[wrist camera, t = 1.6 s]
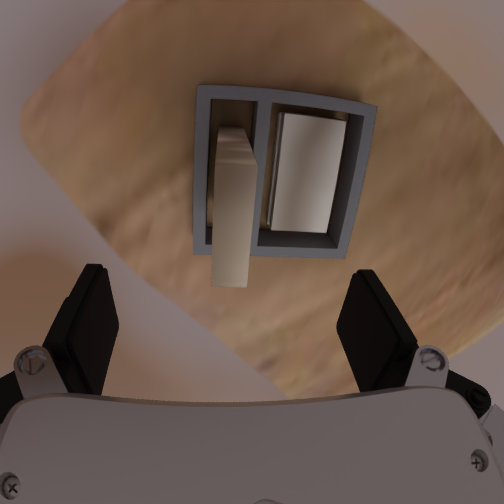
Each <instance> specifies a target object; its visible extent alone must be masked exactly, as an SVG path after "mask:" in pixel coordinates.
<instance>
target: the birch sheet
mask: <svg viewBox="0 0 504 504" xmlns="http://www.w3.org/2000/svg"><path fill="white" fill-rule="evenodd" d="M257 173H258V165H257V162H256V160H255V157H254V154H253V152H252V149H251V146H250V143H249V141H248V138H247V135H246V133H245V130H244V127H233V126H219V130H218V140H217V150H216V160H215V176H214V200H213V230H212V273H211V286H213V287H247V277H248V267H249V256H250V246H251V235H252V225H253V214H254V204H255V193H256V183H257Z"/></svg>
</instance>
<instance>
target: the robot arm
mask: <svg viewBox="0 0 504 504" xmlns="http://www.w3.org/2000/svg"><path fill="white" fill-rule="evenodd" d="M336 328H337V333H338V335H339V338H340V340H341V343H342V346H343V348H344V351H345V353H346V356H347V358H348V361H349V364H350V366H351V369H352V372H353V374H354V377H355V380H356V382H357V385H358V388H359V390H360V393H352V394H345V395H337V396H328V397H318V398H307V399H295V400H281V401H261V402H179V401H178V402H177V401H158V400H145V399H133V398H120V397H110V396H101V394H102V389H103V386H104V381H105V378H106V374H107V370H108V365H109V362H110V358H111V355H112V351H113V347H114V344H115V340H116V337H117V333H118V329H119V322H118V317H117V313H116V308H115V304H114V300H113V295H112V291H111V286H110V281H109V276H108V271H107V269H106V268H103V266H102V265H101V264H86V266H85V268H84V270H83V271H82V273H81V275H80V276H79V278H78V280H77V282H76V284H75V286H74V288H73V289H72V291H71V293H70V295H69V297H67V298H66V299H65V300H64V302H63V304H62V306H61V308H60V310H59V312H58V314H57V316H56V318H55V320H54V322H53V324H52V326H51V328H50V330H49V332H48V334H47V336H46V339H45V341H44V343H43V345H42V346H38V345H35V346H29V347H26V348H24V349H23V350H21V351H20V352H19V353H18V355H17V356H16V358H15V360H14V364H13V365H14V371H13V372H11V373H9V374H7V375H5V376H4V377H1V378H0V504H504V411H503V410H502V409H500V408H499V407H498V406H497V405H496V404H495V405H494V406H492V405H491V398H490V395H489V393H488V391H487V390H486V389H485V388H484V387H482V386H481V385H479V384H477V383H475V382H473V381H471V380H469V379H467V378H465V377H463V376H461V375H459V374H457V373H455V372H453V371H451V370H449V361H448V359H447V357H446V355H445V354H444V353H443V352H442V351H441V350H440V349H438V348H436V347H433V346H429V345H425V346H421V347H419V346H418V344H417V339H416V338H415V336H414V334H413V332H412V331H411V329H410V327H409V326H408V324H407V323H406V321H405V319H404V318H403V316H402V314H401V313H400V311H399V309H398V308H397V306H396V305H395V303H394V302H393V300H392V298H391V297H390V295H389V294H388V292H387V291H386V289H385V287H384V286H383V284H382V283H381V281H380V280H379V278H378V277H377V275H376V274H375V272H374V271H373V270H358V271H357V272H356V273H354V274H353V275H352V278H351V281H350V285H349V288H348V291H347V294H346V297H345V300H344V303H343V306H342V309H341V312H340V315H339V318H338V321H337V326H336Z"/></svg>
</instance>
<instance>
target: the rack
mask: <svg viewBox="0 0 504 504" xmlns="http://www.w3.org/2000/svg"><path fill="white" fill-rule="evenodd" d="M212 99H232V100H248V101H254V110H253V121H252V132H251V144H250V146H251V149H252V152H253V154H254V157H255V160H256V162H257V165H258V173H257V183H256V193H255V204H254V214H253V225H252V235H251V246H250V256H266V257H303V258H342V259H345V256H346V253H347V249H348V245H349V241H350V237H351V233H352V229H353V225H354V221H355V217H356V213H357V208H358V204H359V200H360V195H361V191H362V186H363V182H364V177H365V172H366V167H367V162H368V157H369V152H370V147H371V141H372V136H373V130H374V124H375V119H376V112H377V106H374V105H370V104H366V103H363V102H358V101H353V100H348V99H343V98H337V97H331V96H325V95H319V94H313V93H306V92H298V91H290V90H282V89H273V88H262V87H250V86H235V85H212V84H199V85H197V101H196V121H195V146H194V187H193V254H196V255H212V230H213V229H212V228H207V192H208V165H209V143H210V124H211V107H212ZM272 103H282V104H291V105H299V106H307V107H314V108H321V109H327V110H334V111H340V112H345V113H350V118H349V124H348V131H347V137H346V143H345V149H344V155H343V160H342V166H341V171H340V177H339V182H338V187H337V192H336V197H335V202H334V207H333V212H332V217H331V222H330V227H329V231H328V233H314V232H292V231H268V230H259V223H260V214H261V205H262V195H263V186H264V176H265V167H266V157H267V147H268V138H269V128H270V118H271V109H272Z"/></svg>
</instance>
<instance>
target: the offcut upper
mask: <svg viewBox="0 0 504 504" xmlns="http://www.w3.org/2000/svg"><path fill="white" fill-rule="evenodd" d="M345 127H346V122H345V121H343V120H341V119H336V118H329V117H322V116H315V115H308V114H300V113H292V112H282V114H281V123H280V132H279V141H278V150H277V159H276V168H275V176H274V185H273V194H272V202H271V211H270V219H269V224H270V228H271V230H280V231H301V232H320V233H326V232H327V227H328V222H329V217H330V212H331V207H332V202H333V197H334V191H335V186H336V181H337V175H338V170H339V164H340V158H341V152H342V146H343V140H344V134H345Z"/></svg>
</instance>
